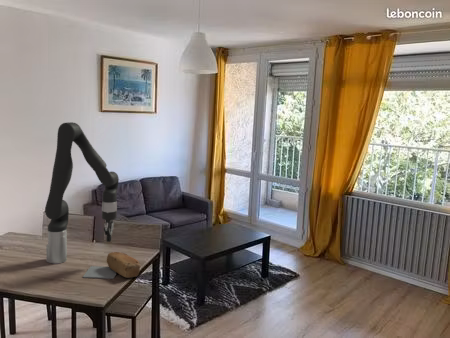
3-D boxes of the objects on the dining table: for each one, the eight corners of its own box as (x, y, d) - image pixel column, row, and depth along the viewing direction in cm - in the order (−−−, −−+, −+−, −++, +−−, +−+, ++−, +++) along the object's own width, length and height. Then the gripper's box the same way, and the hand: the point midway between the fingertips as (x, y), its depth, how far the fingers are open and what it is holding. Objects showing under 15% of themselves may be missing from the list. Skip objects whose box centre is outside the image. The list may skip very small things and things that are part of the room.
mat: (82, 277, 184) (82, 276, 184) (91, 267, 197) (91, 266, 197) (113, 278, 185) (113, 277, 185) (119, 268, 197) (119, 267, 197)
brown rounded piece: (104, 265, 196) (123, 279, 182) (106, 251, 196) (126, 264, 182) (122, 263, 204) (142, 276, 190) (124, 250, 203) (145, 262, 190)
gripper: (105, 206, 203) (105, 237, 206) (98, 212, 190) (98, 245, 193) (119, 206, 204) (118, 237, 206) (113, 213, 191) (113, 245, 193)
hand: (108, 241), depth 199 cm, fingers closed
